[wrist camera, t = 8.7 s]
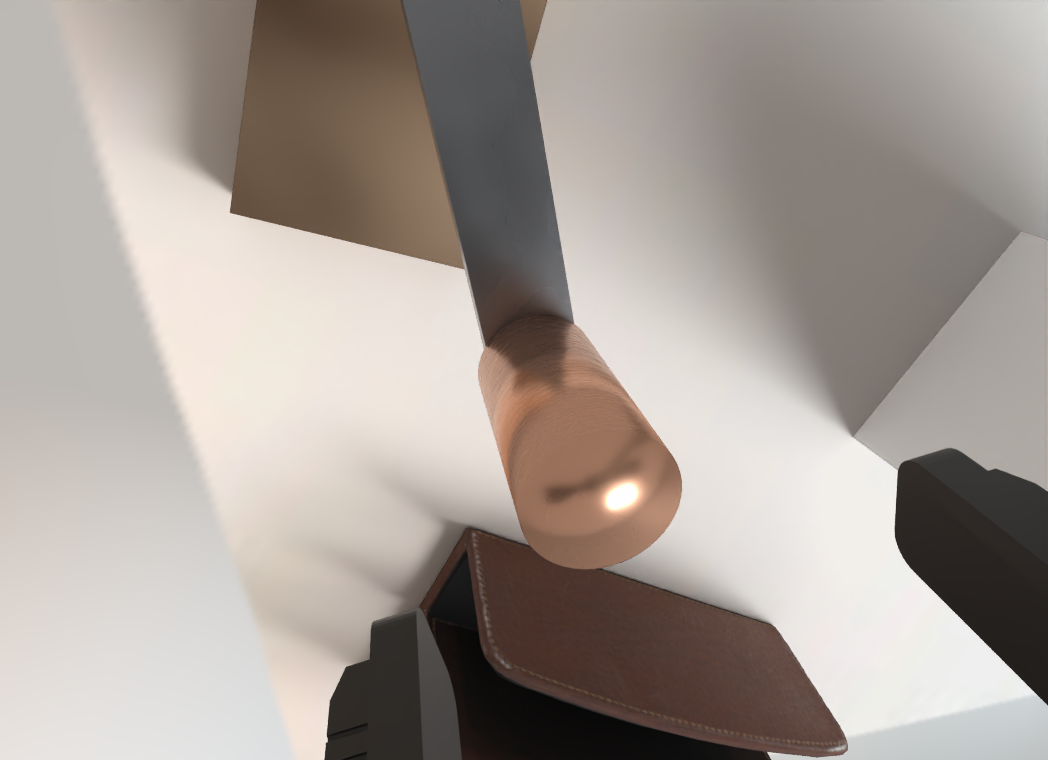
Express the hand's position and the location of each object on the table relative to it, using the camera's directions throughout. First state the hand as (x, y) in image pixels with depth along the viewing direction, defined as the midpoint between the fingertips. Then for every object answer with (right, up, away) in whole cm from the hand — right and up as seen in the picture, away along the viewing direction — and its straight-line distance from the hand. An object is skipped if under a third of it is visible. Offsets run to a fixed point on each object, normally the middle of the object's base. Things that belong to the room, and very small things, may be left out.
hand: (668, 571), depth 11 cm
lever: (-4, +10, +5) cm, 12 cm away
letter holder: (+1, -11, +25) cm, 28 cm away
